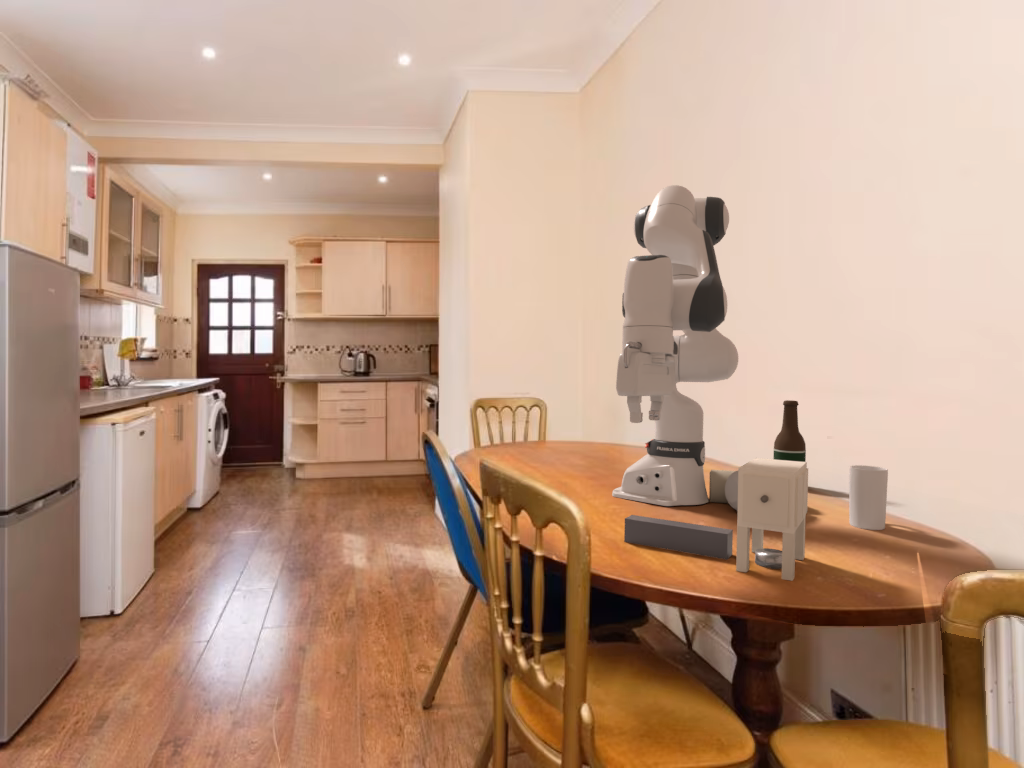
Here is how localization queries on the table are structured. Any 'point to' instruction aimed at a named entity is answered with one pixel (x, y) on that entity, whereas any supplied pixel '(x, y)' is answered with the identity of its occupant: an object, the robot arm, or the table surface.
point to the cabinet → (772, 509)
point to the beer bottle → (790, 436)
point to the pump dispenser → (732, 490)
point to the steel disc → (769, 558)
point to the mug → (867, 496)
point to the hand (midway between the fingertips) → (645, 421)
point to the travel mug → (718, 485)
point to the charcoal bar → (679, 536)
